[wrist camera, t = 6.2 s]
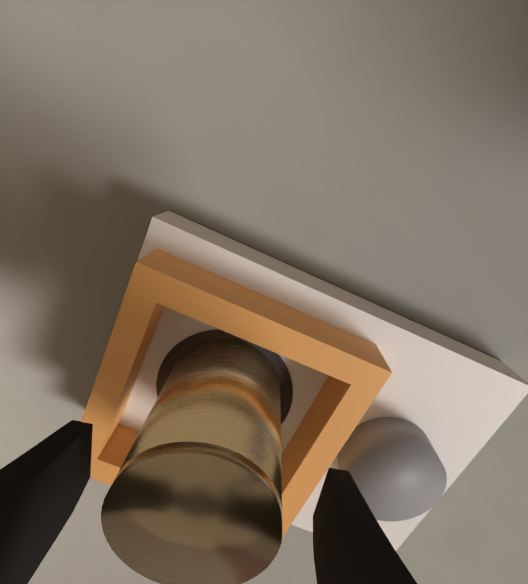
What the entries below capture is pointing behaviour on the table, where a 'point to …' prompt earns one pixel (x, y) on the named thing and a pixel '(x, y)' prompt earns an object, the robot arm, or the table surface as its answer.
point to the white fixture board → (303, 374)
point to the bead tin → (203, 473)
